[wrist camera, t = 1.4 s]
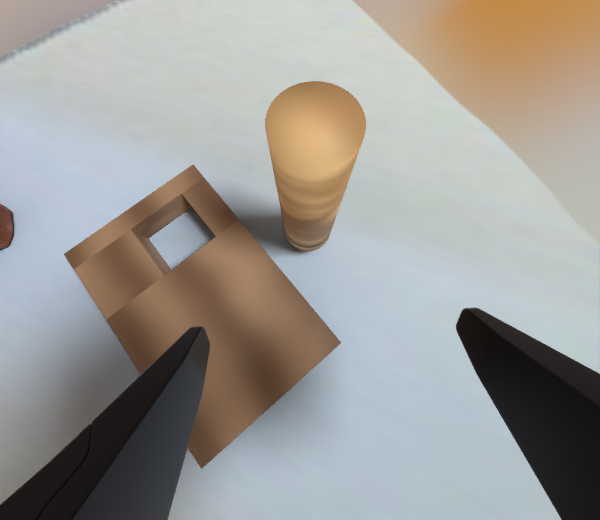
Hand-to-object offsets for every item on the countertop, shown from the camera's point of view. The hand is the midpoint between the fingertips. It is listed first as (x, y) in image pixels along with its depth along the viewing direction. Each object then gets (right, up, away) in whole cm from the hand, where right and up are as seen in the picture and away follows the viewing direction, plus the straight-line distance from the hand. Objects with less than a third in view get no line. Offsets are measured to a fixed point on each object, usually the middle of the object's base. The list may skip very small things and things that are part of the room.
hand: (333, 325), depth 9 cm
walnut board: (-9, -1, +14) cm, 17 cm away
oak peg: (-1, +5, +15) cm, 16 cm away
